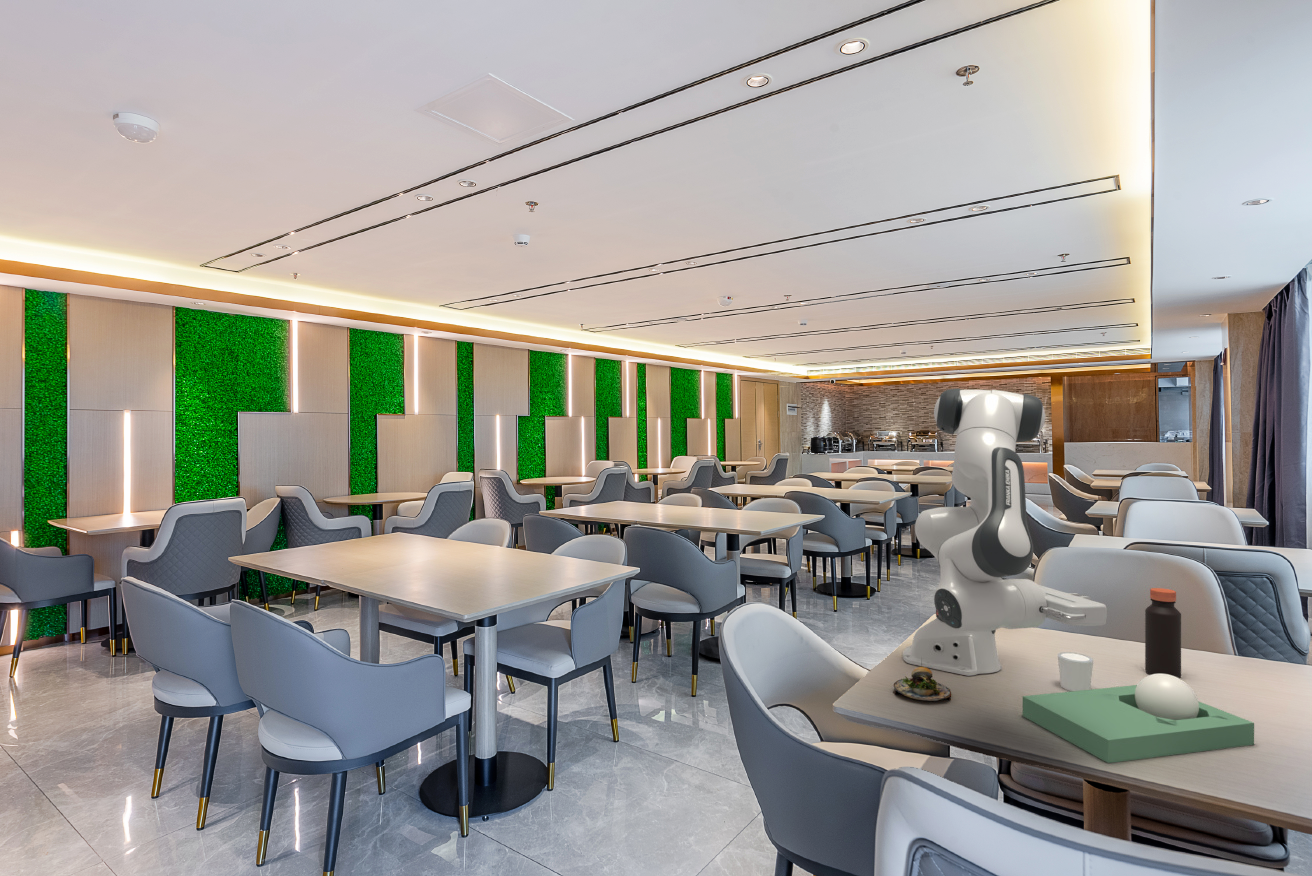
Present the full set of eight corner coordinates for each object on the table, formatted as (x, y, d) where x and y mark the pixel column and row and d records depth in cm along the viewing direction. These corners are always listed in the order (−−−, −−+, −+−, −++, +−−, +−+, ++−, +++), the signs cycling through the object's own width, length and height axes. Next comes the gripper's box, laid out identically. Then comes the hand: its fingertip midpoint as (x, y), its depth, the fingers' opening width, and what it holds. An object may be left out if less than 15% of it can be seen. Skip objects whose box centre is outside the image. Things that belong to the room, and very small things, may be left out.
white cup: (1081, 695, 146) (1081, 663, 146) (1050, 685, 153) (1050, 654, 152) (1100, 690, 150) (1100, 658, 150) (1069, 680, 156) (1069, 650, 156)
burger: (885, 697, 147) (884, 663, 147) (904, 681, 156) (904, 649, 156) (942, 711, 139) (942, 675, 139) (958, 694, 148) (958, 660, 148)
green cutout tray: (1108, 763, 117) (1108, 740, 116) (1022, 715, 136) (1022, 696, 136) (1254, 744, 123) (1254, 722, 123) (1152, 702, 143) (1152, 683, 143)
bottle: (1185, 675, 158) (1185, 590, 158) (1175, 682, 154) (1175, 595, 154) (1150, 667, 164) (1150, 585, 164) (1140, 673, 160) (1140, 589, 159)
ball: (1204, 688, 132) (1189, 737, 131) (1143, 665, 139) (1128, 712, 138) (1207, 687, 125) (1192, 740, 124) (1143, 664, 131) (1127, 713, 130)
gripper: (1067, 600, 114) (1134, 596, 117) (983, 574, 134) (1043, 571, 137) (1066, 637, 114) (1133, 632, 117) (983, 606, 134) (1042, 602, 137)
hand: (1084, 599), depth 127 cm, fingers closed
